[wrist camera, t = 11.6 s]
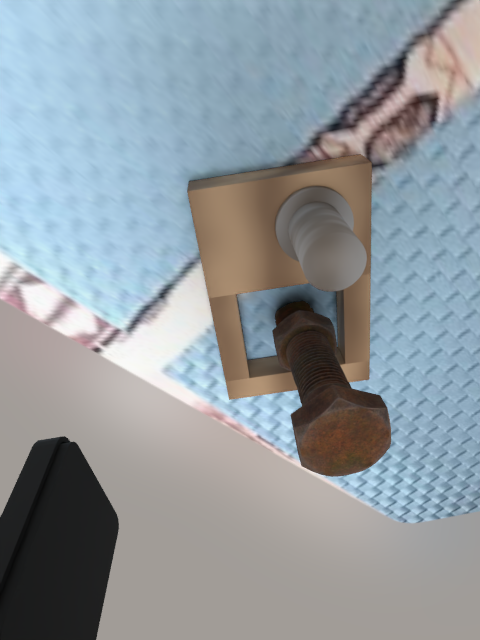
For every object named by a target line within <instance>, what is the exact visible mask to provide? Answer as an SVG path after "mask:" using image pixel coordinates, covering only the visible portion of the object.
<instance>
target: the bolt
mask: <svg viewBox="0 0 480 640" xmlns="http://www.w3.org/2000/svg"><path fill="white" fill-rule="evenodd" d="M275 318H276V319H275V320H276V321H275V322H276V325H277V327H276V328H275V329H274V330H273V337H274V343H275V348H276V352H277V357H278V361H279V364H280V367H282V368H285V369H287V370H289V371H291V372H292V375H293V378H294V381H295V384H296V386H297V389H298V393H299V396H300V400H301V403H302V407H301V408H299V409H298V410H296V411H295V412H294V413H292V414H291V419H292V424H293V430H294V435H295V440H296V445H297V450H298V454H299V458H300V461H301V465H302V466H303V467H305V468H307V469H309V470H311V471H313V472H316V473H318V474H321V475H326V476H332V477H333V476H344V475H349V474H353V473H358V472H360V471H363V470H366V469H367V468H369V467H371V466H372V465H373V464H375V463H376V462H377V461H378V460H379V459H380V458H381V457H382V456H383V455H384V454H385V453H386V451H387V450H388V449H389V448H390V444H391V426H390V419H389V414H388V409H387V407H386V405H385V403H384V401H383V400H382V398H381V396H380V395H376V394H372V393H368V392H363V391H359V390H355V389H352V388H351V386H350V384H349V382H348V380H347V378H346V376H345V374H344V372H343V370H342V368H341V366H340V364H339V361H338V360H337V358H336V355H337V342H336V336H335V330H334V326H333V324H332V322H331V320H330V319H329V318H327V317H325V316H322V315H320V314H317V313H314V311H313V309H312V308H311V307H310V305H309V304H308V303H306V302H305V301H299V302H293V303H289V304H287V305H286V306H284V307H282V308H280V309H279V310H277V312H276V314H275Z"/></svg>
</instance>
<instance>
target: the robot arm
mask: <svg viewBox="0 0 480 640" xmlns="http://www.w3.org/2000/svg"><path fill="white" fill-rule="evenodd" d="M118 529H119V523H118V517H117V514H116V512H115V510H114V509H113V507H112V505H111V503H110V501H109V500H108V498H107V496H106V495H105V492H104V491H103V489H102V487H101V485H100V484H99V482H98V480H97V478H96V476H95V475H94V473H93V471H92V469H91V468H90V466H89V464H88V462H87V460H86V459H85V457H84V455H83V454H82V452H81V450H80V448H79V446H78V445H77V444H76V443H75V442H70V441H69V440H68V438H66V437H57V438H51V439H45V440H39V441H37V442H36V443H35V444H34V445H33V447H32V449H31V451H30V453H29V456H28V458H27V460H26V462H25V464H24V467H23V469H22V471H21V473H20V475H19V478H18V480H17V482H16V484H15V487H14V489H13V491H12V493H11V495H10V498H9V500H8V502H7V505H6V507H5V509H4V511H3V513H2V515H1V517H0V640H96V637H97V632H98V627H99V622H100V617H101V613H102V607H103V603H104V598H105V593H106V588H107V583H108V578H109V573H110V569H111V564H112V559H113V554H114V549H115V544H116V540H117V535H118Z"/></svg>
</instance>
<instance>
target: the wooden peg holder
mask: <svg viewBox="0 0 480 640" xmlns="http://www.w3.org/2000/svg"><path fill="white" fill-rule="evenodd" d="M371 185H372V162H370V161H369V160H368V159H366V158H365V157H364V156H362V155H361V154H359V155H353V156H347V157H340V158H334V159H328V160H321V161H315V162H309V163H302V164H296V165H289V166H283V167H277V168H270V169H264V170H258V171H251V172H245V173H239V174H232V175H226V176H220V177H213V178H207V179H201V180H194V181H189V184H188V190H187V192H188V197H189V202H190V207H191V212H192V217H193V222H194V227H195V232H196V237H197V242H198V247H199V252H200V257H201V262H202V266H203V271H204V276H205V281H206V286H207V291H208V296H209V301H210V306H211V311H212V316H213V321H214V326H215V331H216V336H217V341H218V346H219V351H220V356H221V361H222V366H223V371H224V375H225V380H226V385H227V390H228V395H229V400H230V399H237V398H244V397H251V396H258V395H265V394H272V393H279V392H286V391H293V390H298V389H297V386H296V384H295V381H294V378H293V375H292V372H291V371H289V370H287V369H285V368H282V367H280V364H279V361H278V357H277V356H273V357H266V358H259V359H252V360H247V354H246V348H245V342H244V336H243V330H242V324H241V318H240V312H239V306H238V300H237V294H241V293H247V292H254V291H261V290H267V289H274V288H281V287H287V286H294V285H300V284H307V283H310V284H311V285H312V286H314V287H315V288H317V289H319V290H322V291H327V292H334V291H336V297H337V327H338V347H337V355H336V358H337V360H338V361H339V364H340V366H341V368H342V370H343V372H344V374H345V376H346V378H347V380H348V382H355V381H362V380H369V359H370V272H371Z"/></svg>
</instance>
